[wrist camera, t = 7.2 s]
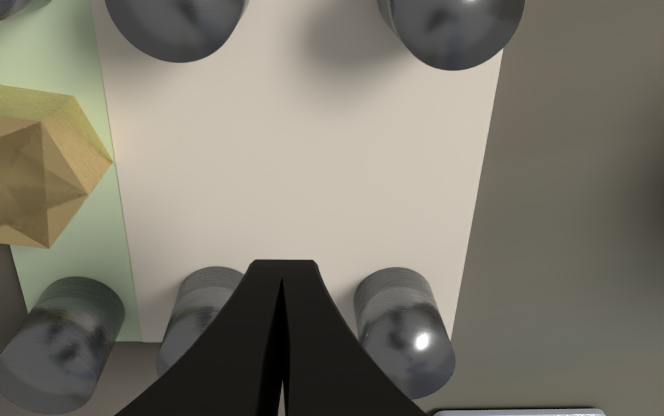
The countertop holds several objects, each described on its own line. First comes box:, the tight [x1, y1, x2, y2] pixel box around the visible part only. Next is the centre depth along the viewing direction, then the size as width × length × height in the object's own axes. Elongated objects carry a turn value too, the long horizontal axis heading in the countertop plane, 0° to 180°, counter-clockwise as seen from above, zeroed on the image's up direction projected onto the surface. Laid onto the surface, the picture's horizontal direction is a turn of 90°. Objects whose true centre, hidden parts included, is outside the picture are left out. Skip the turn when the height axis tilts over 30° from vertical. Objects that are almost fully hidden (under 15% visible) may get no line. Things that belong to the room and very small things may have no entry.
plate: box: [0, 0, 503, 342], centre depth 18 cm, size 15×16×1 cm
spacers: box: [0, 0, 525, 414], centre depth 16 cm, size 15×14×4 cm
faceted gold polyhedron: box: [0, 85, 113, 249], centre depth 16 cm, size 4×5×2 cm
